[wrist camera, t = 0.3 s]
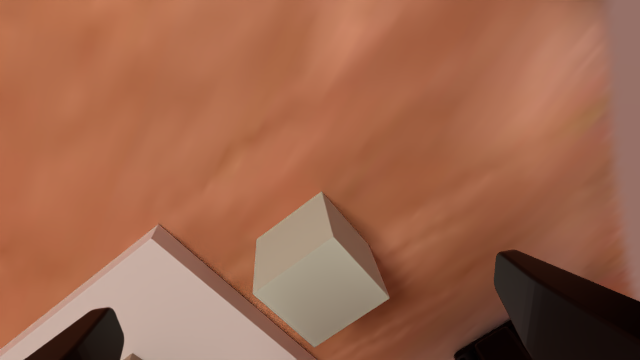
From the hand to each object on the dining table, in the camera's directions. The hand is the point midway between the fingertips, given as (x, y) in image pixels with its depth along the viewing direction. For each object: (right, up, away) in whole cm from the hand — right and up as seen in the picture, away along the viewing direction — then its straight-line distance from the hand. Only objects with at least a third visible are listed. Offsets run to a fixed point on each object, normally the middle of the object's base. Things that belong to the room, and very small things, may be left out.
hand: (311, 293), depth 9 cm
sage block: (0, -1, +15) cm, 15 cm away
